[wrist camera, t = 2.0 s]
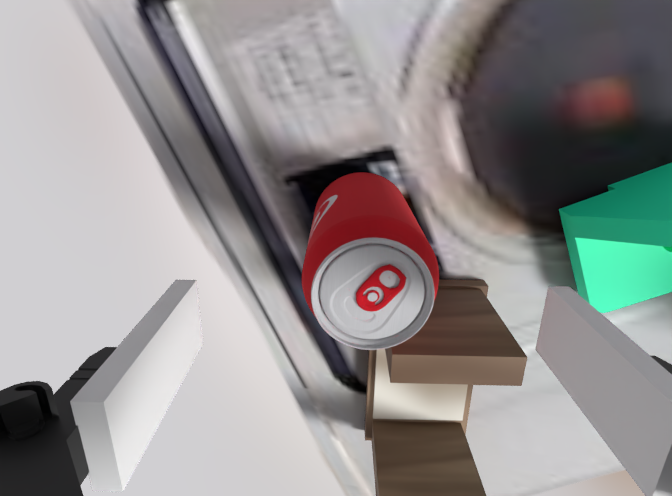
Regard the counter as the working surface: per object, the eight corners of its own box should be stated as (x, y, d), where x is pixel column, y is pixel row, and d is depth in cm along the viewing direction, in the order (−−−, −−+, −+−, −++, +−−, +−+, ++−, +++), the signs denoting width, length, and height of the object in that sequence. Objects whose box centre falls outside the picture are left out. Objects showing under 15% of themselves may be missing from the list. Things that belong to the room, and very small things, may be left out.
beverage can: (296, 220, 29) (267, 304, 18) (356, 150, 27) (365, 194, 16) (365, 274, 30) (377, 384, 19) (426, 211, 29) (479, 291, 18)
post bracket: (372, 278, 31) (382, 351, 22) (483, 280, 30) (537, 354, 22) (364, 430, 35) (371, 537, 27) (460, 433, 35) (497, 541, 27)
